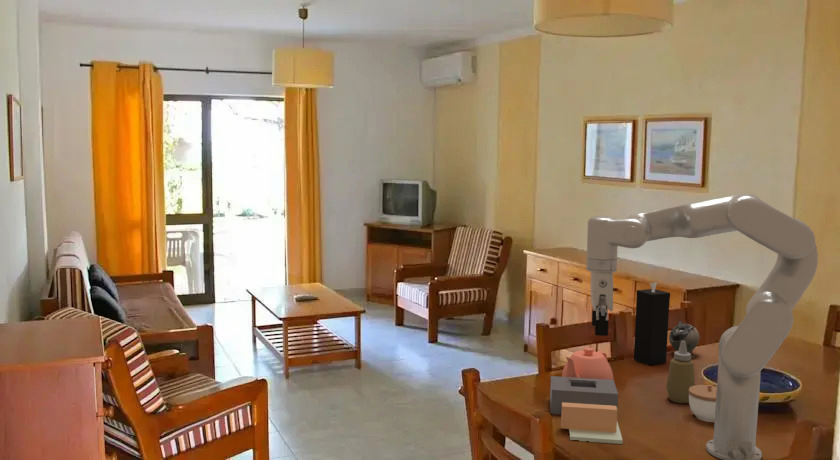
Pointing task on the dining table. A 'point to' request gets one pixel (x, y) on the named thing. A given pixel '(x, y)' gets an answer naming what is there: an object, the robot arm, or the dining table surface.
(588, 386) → the dispenser
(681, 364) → the squeeze bottle
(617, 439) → the mat
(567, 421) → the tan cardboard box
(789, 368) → the dining table surface
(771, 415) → the dining table surface
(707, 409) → the lidded jar
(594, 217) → the robot arm
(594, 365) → the teapot
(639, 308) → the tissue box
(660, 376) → the dining table surface
